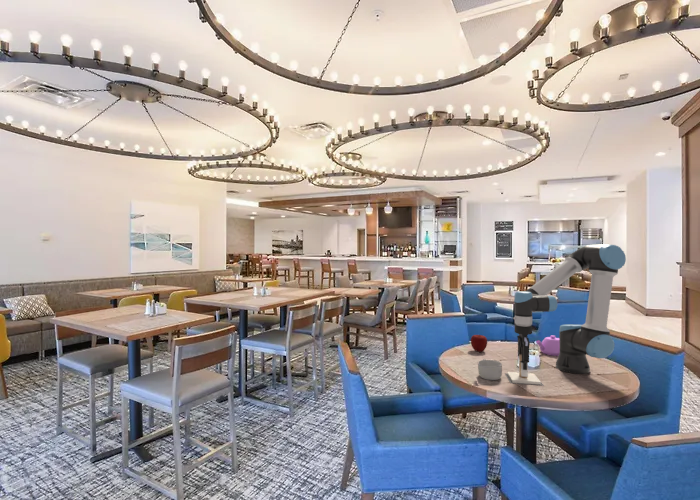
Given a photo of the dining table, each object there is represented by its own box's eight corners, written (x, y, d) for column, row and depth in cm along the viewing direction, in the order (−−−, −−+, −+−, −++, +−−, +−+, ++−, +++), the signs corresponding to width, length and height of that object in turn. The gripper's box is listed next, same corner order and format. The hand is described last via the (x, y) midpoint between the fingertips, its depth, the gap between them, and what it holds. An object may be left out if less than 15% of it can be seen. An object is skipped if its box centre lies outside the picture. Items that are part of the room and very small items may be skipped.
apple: (485, 354, 220) (485, 337, 220) (468, 351, 225) (468, 335, 225) (488, 350, 228) (488, 334, 228) (473, 348, 233) (473, 332, 233)
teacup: (504, 384, 170) (504, 366, 170) (479, 382, 172) (479, 365, 172) (498, 374, 183) (498, 358, 183) (475, 372, 186) (475, 356, 186)
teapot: (529, 351, 227) (529, 333, 227) (557, 349, 230) (557, 332, 230) (545, 357, 213) (545, 339, 213) (575, 355, 217) (575, 337, 217)
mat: (535, 377, 179) (535, 375, 179) (544, 387, 165) (543, 385, 165) (504, 375, 182) (504, 373, 182) (510, 385, 168) (510, 383, 168)
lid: (533, 376, 178) (533, 352, 178) (540, 384, 166) (540, 359, 166) (507, 374, 181) (507, 351, 181) (512, 382, 169) (512, 357, 169)
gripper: (511, 321, 182) (511, 368, 182) (518, 327, 166) (518, 380, 166) (527, 321, 181) (527, 369, 181) (536, 328, 165) (536, 381, 164)
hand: (523, 374), depth 173 cm, fingers closed on lid, 3 cm apart
